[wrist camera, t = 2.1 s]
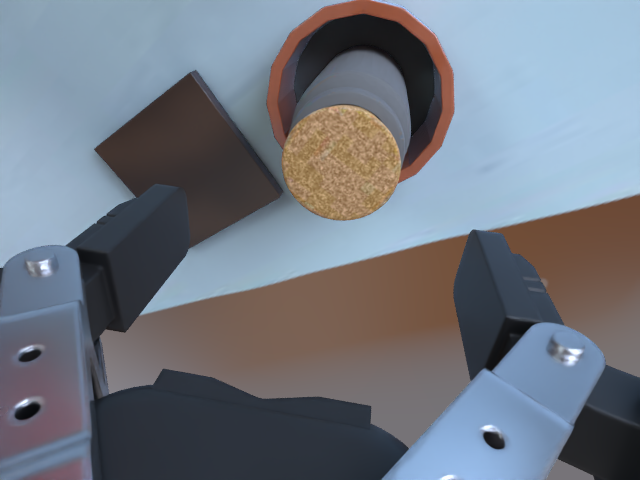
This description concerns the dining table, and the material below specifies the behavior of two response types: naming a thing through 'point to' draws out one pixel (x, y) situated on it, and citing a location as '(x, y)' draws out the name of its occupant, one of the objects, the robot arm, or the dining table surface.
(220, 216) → the walnut board
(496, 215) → the dining table surface
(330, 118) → the bottle
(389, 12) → the terracotta pot
